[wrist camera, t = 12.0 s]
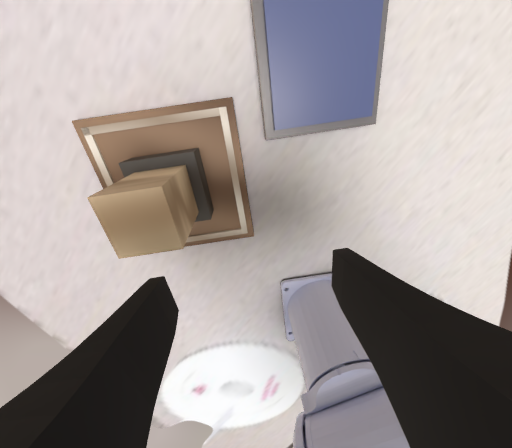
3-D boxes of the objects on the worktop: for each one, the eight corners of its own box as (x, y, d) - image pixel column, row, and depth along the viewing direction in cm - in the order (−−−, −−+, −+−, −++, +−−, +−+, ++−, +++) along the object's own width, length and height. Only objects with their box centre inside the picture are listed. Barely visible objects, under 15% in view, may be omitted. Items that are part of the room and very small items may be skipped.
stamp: (213, 209, 18) (200, 257, 12) (155, 218, 18) (111, 271, 12) (198, 147, 16) (172, 167, 10) (131, 157, 16) (62, 184, 10)
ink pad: (368, 123, 17) (379, 124, 15) (265, 138, 17) (267, 140, 15) (381, -22, 13) (398, -38, 12) (250, -3, 13) (251, -17, 12)
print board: (253, 233, 20) (254, 237, 19) (136, 250, 20) (133, 255, 19) (232, 97, 15) (232, 96, 15) (77, 120, 15) (69, 121, 14)
